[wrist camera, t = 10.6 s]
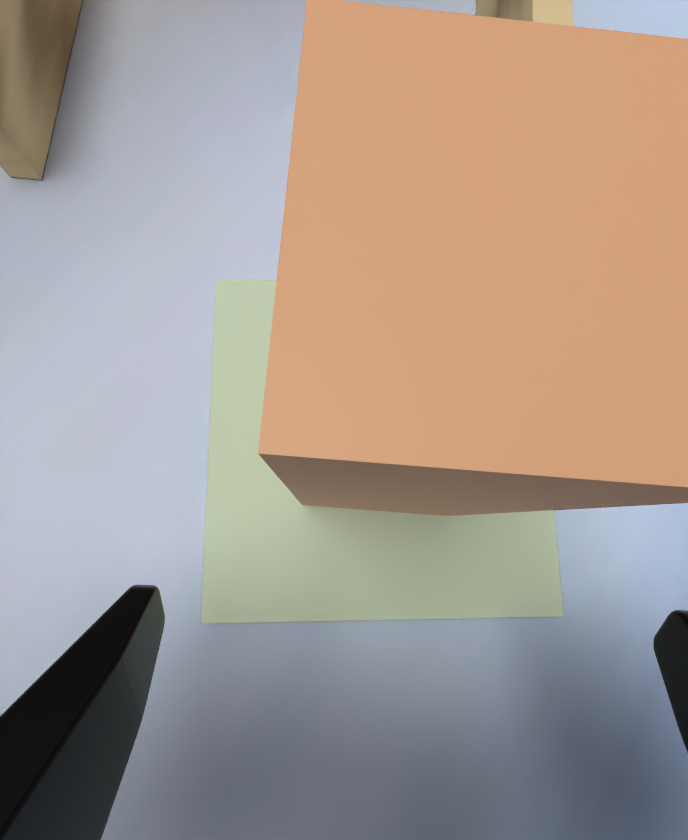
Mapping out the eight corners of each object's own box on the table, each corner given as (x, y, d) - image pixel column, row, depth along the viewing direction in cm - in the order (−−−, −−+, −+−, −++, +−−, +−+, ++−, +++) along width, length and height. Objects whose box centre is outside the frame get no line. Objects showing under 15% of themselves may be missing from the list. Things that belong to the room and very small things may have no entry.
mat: (203, 621, 17) (200, 623, 16) (218, 284, 19) (216, 279, 19) (558, 614, 17) (564, 616, 17) (529, 289, 20) (533, 284, 19)
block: (447, 515, 17) (804, 496, 5) (301, 504, 17) (257, 453, 4) (451, 376, 18) (753, 46, 6) (314, 364, 18) (308, -3, 5)
